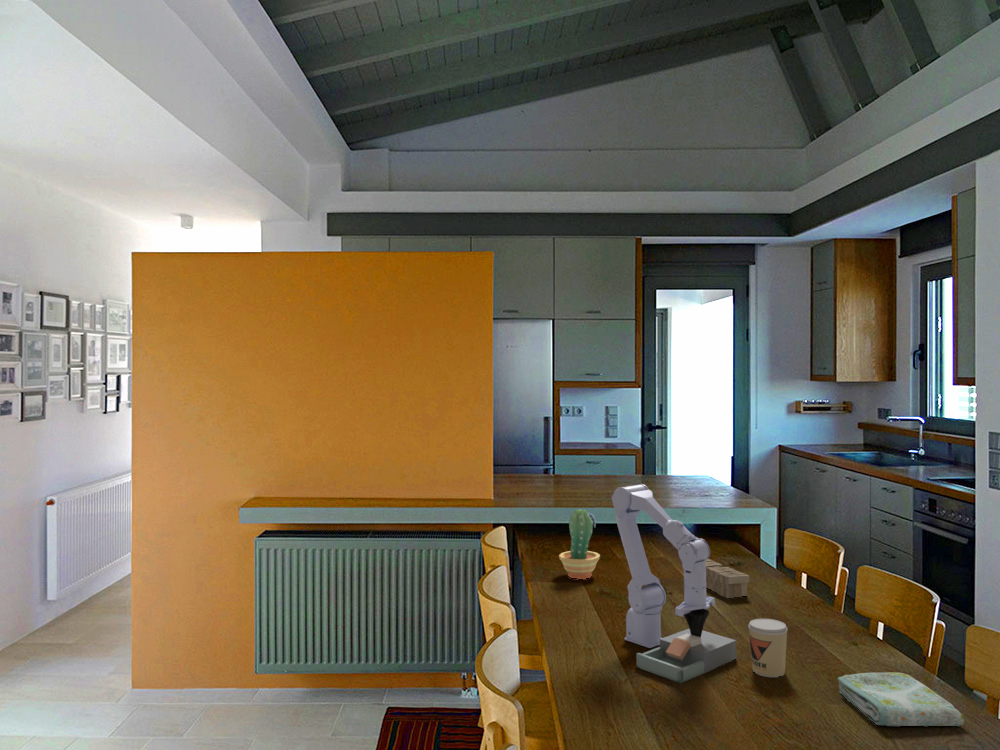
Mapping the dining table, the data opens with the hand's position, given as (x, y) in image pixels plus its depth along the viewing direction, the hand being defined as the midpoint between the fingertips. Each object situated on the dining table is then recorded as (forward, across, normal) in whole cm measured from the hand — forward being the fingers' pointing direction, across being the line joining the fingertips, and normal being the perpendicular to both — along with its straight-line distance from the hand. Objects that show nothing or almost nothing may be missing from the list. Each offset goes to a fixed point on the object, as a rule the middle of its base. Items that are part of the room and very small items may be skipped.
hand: (696, 637), depth 201 cm
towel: (+6, +9, -47) cm, 48 cm away
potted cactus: (+6, +36, +79) cm, 87 cm away
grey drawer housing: (+6, +1, 0) cm, 6 cm away
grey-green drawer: (+6, -11, 0) cm, 12 cm away
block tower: (+6, +60, +36) cm, 70 cm away
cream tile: (+1, -3, 0) cm, 3 cm away
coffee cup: (+6, +7, -17) cm, 19 cm away
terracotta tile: (+2, -8, 0) cm, 8 cm away
